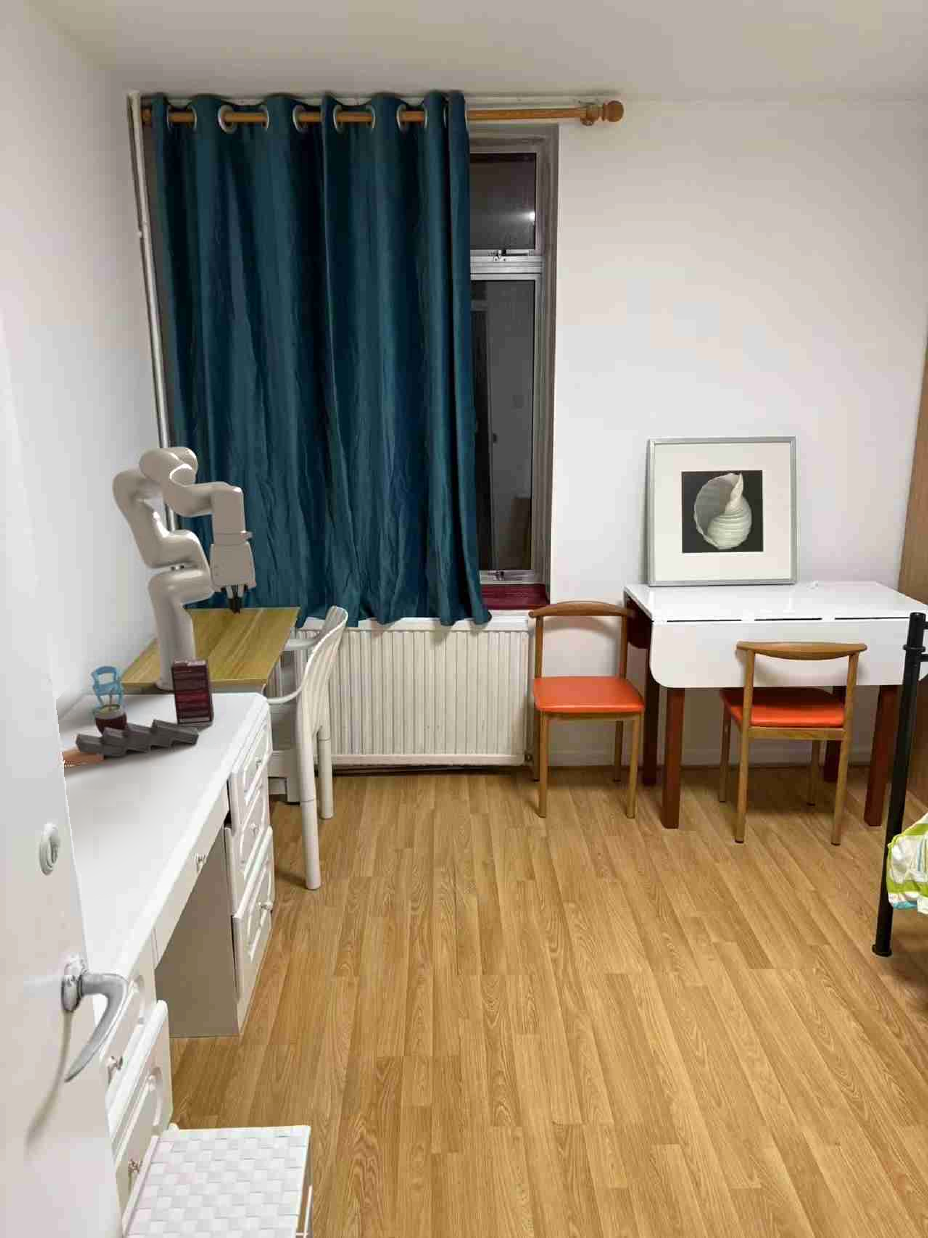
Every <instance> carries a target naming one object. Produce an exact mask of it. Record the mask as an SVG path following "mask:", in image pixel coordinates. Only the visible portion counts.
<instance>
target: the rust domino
mask: <svg viewBox="0 0 928 1238" xmlns="http://www.w3.org/2000/svg"><path fill="white" fill-rule="evenodd" d="M61 752H62V756H63V761H64V760H65V763H64V768H63V769H65V765H66V766H68V765H69V766H70V765H77V766H80V765H79V764H82V765H84V764H83V763H88V764H92V763H97V762H103V761H105V760H104V755H103V754H96V753H88V752H81V751H79V749H78V748H75V749H70V750H69V749H68V750H63V751H61Z"/></svg>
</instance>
